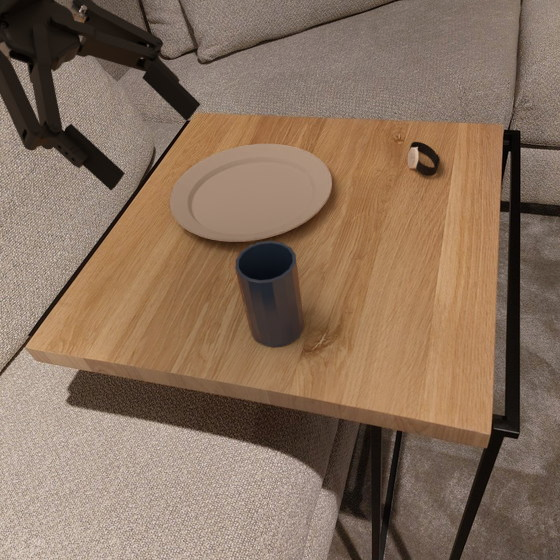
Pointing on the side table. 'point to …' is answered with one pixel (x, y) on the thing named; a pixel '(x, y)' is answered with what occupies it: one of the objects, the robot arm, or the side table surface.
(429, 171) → the watch
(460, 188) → the side table surface
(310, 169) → the plate
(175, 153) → the side table surface
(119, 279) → the side table surface
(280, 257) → the tumbler
